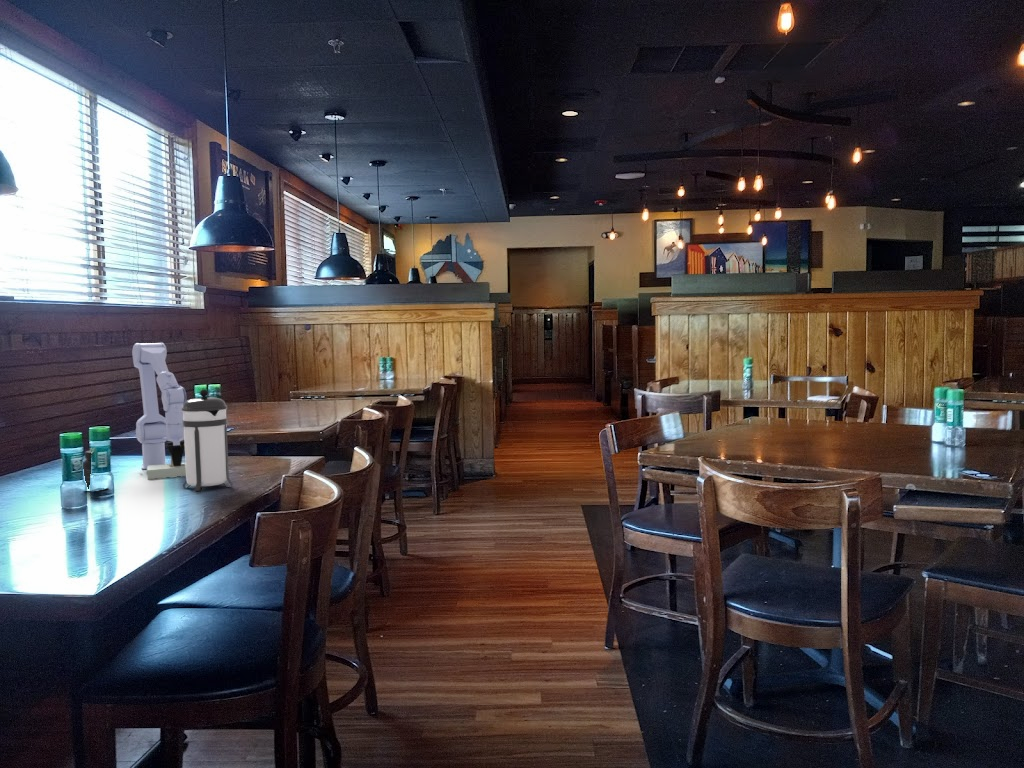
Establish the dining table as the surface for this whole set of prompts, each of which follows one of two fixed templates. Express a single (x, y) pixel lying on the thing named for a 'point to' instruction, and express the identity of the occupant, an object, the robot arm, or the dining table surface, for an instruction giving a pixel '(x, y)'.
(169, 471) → the bore block
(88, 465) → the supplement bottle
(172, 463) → the peg
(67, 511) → the dining table surface
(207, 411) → the coffee press
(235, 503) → the dining table surface
